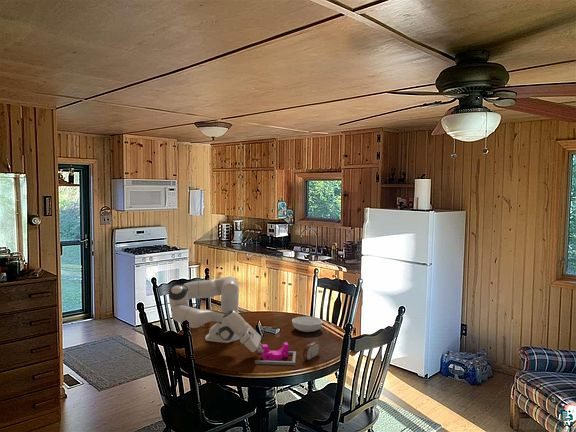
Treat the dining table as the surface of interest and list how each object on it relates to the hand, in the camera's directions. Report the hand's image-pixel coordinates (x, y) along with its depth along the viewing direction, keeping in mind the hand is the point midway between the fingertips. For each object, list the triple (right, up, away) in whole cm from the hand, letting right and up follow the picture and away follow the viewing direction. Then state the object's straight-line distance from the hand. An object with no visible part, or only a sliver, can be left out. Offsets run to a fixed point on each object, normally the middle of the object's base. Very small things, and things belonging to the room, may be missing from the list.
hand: (263, 350), depth 248 cm
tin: (+28, -5, +3) cm, 28 cm away
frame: (+7, -5, 0) cm, 8 cm away
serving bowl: (+27, -2, +53) cm, 59 cm away
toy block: (+7, -5, +1) cm, 9 cm away
